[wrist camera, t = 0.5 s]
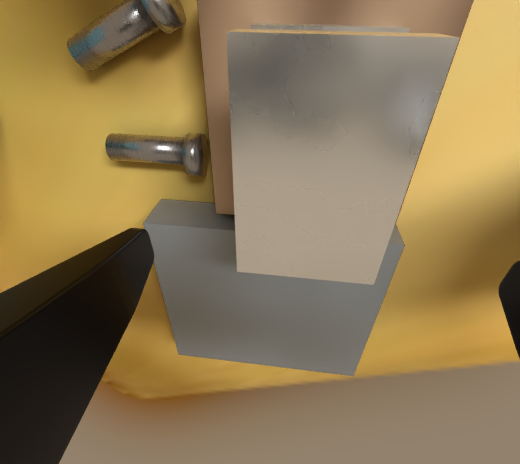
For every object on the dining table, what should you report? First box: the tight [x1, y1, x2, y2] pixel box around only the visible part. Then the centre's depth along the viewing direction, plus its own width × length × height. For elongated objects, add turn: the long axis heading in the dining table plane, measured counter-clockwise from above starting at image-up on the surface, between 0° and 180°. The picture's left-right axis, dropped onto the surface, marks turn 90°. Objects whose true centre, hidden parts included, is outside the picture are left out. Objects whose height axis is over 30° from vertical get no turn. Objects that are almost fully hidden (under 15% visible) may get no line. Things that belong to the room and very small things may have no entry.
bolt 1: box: [67, 0, 186, 71], centre depth 14 cm, size 6×2×2 cm, turn 114°
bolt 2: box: [106, 133, 209, 176], centre depth 18 cm, size 6×2×2 cm, turn 89°
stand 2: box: [143, 199, 405, 376], centre depth 24 cm, size 16×15×3 cm
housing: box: [226, 23, 459, 285], centre depth 13 cm, size 6×9×6 cm, turn 179°
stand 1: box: [197, 0, 474, 227], centre depth 16 cm, size 11×11×2 cm
